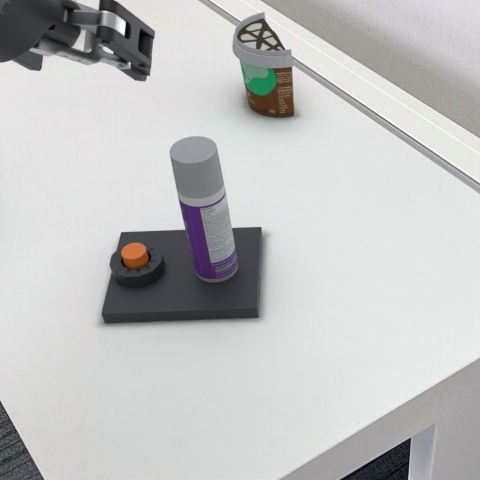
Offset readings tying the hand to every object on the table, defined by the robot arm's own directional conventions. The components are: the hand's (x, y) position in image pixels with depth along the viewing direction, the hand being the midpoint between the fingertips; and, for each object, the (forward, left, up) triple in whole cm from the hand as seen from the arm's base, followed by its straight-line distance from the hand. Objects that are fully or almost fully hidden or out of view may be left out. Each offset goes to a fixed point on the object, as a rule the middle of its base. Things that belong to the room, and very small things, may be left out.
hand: (91, 62), depth 58 cm
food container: (+9, +42, -29) cm, 51 cm away
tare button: (-3, +7, -26) cm, 27 cm away
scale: (+2, +7, -29) cm, 29 cm away
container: (+5, +6, -27) cm, 29 cm away
